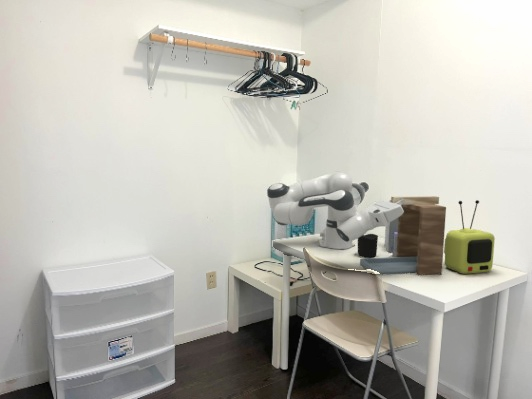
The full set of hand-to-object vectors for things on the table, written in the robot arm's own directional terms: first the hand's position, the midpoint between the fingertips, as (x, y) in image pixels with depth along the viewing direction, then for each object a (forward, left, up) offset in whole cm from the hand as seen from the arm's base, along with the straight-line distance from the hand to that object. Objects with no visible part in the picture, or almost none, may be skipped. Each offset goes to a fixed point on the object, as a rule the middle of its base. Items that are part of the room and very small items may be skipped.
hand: (401, 199), depth 169 cm
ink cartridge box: (-15, +10, -30) cm, 35 cm away
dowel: (0, +6, -2) cm, 7 cm away
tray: (0, -1, -30) cm, 30 cm away
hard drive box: (-33, +14, -30) cm, 47 cm away
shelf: (0, +9, -30) cm, 31 cm away
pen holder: (-22, -5, -30) cm, 38 cm away
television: (+3, +29, -30) cm, 42 cm away
